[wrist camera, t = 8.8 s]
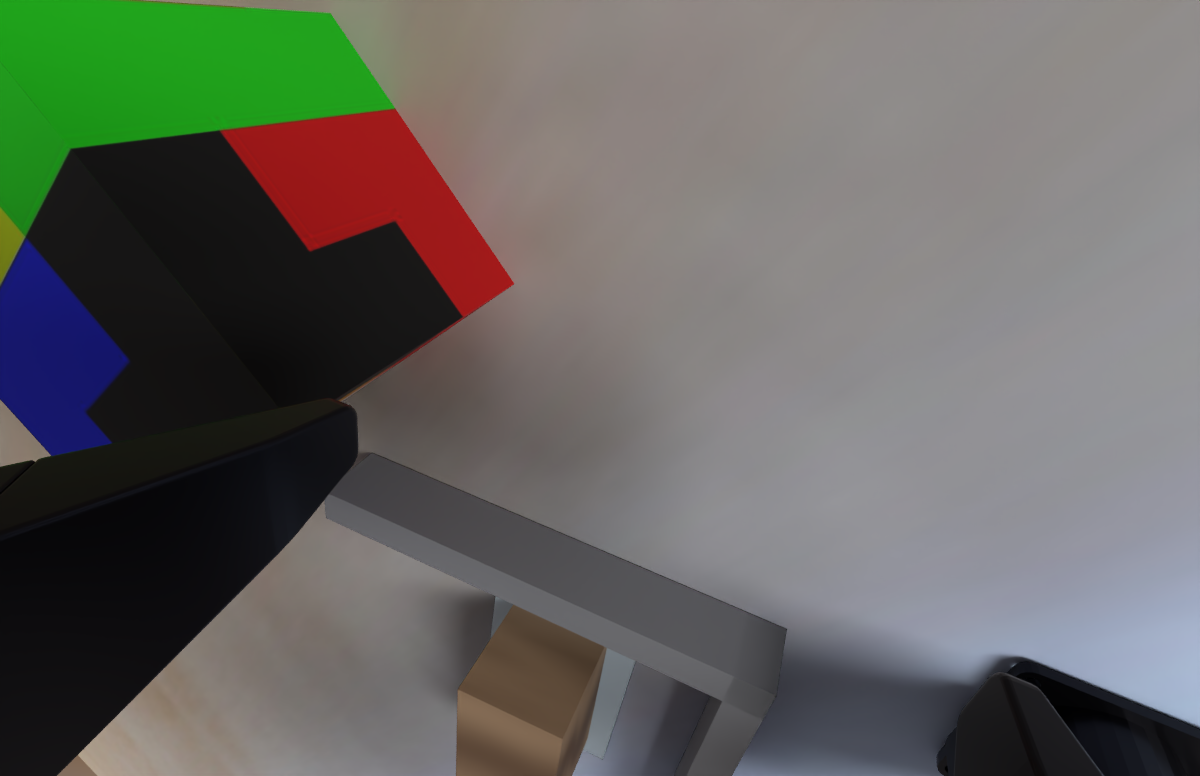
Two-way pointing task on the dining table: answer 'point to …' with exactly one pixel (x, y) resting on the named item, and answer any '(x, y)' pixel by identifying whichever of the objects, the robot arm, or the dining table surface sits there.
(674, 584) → the grey angle bracket
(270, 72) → the puzzle toy
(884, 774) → the dining table surface
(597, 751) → the mat
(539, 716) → the walnut block
